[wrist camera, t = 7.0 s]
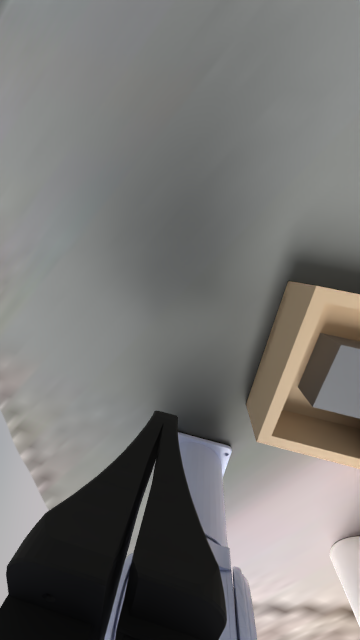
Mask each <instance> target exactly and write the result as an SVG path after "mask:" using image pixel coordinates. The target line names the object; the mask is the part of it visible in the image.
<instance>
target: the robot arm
mask: <svg viewBox="0 0 360 640" xmlns="http://www.w3.org/2000/svg"><path fill="white" fill-rule="evenodd" d="M177 422H178V417H177V416H176V415H172V414H168V413H164V412H160V411H155V412H154V414H153V416H152V417H151V419H150V420H149V422H148V423H147V425H146V426H145V427H144V429H143V430H142V431H141V432H140V434H139V435H138V436H137V437H136V438H135V440H134V441H133V442H132V443H131V444H130V445H129V446H128V447H127V448H126V450H125V451H124V452H123V453H122V454H121V455H120V456H119V457H118V458H117V459H116V460H115V461H114V462H112V463H111V464H110V465H109V466H108V467H107V468H106V469H105V470H104V471H102V472H101V473H100V474H99V475H98V476H97V477H95V478H94V479H93V480H92V481H90V482H89V483H88V484H86V485H85V486H84V487H82V488H81V489H80V490H78V491H77V492H76V493H75V494H73V495H72V496H70V497H69V498H67V499H66V500H64V501H63V502H61V503H60V504H58V505H57V506H55V507H54V508H52V509H51V510H49V511H48V512H47V513H45V515H44V516H43V517H42V518H41V519H40V520H39V522H38V523H37V524H36V525H35V527H34V528H33V529H32V530H31V531H30V533H29V534H28V535H27V537H26V538H25V539H24V541H23V542H22V544H21V546H20V547H19V549H18V550H17V552H16V553H15V555H14V556H13V558H12V560H11V561H10V562H9V564H8V566H7V572H6V577H7V584H8V592H9V595H8V596H7V598H6V599H5V601H4V603H3V604H2V606H1V608H0V640H257V634H256V627H255V619H254V612H253V605H252V599H251V593H250V588H249V583H248V581H247V579H246V578H245V576H244V575H243V574H242V572H241V569H240V568H239V567H233V584H232V574H231V561H230V549H229V548H228V544H227V531H226V517H225V503H224V489H223V475H224V473H225V470H226V467H227V464H228V461H229V458H230V455H231V452H232V450H231V447H230V446H228V445H224V444H220V443H217V442H213V441H209V440H205V439H202V438H198V437H194V436H191V435H187V434H183V433H179V432H178V428H177ZM155 461H156V463H155ZM154 463H155V469H154V475H153V481H152V485H151V489H150V493H149V497H148V501H147V505H146V508H145V512H144V516H143V520H142V523H141V527H140V531H139V535H138V538H137V542H136V546H135V550H134V553H132V554H130V555H129V556H128V557H127V558H126V555H127V551H128V548H129V544H130V540H131V536H132V533H133V529H134V525H135V522H136V518H137V514H138V511H139V507H140V504H141V501H142V498H143V495H144V492H145V490H146V487H147V484H148V481H149V478H150V475H151V472H152V469H153V466H154ZM125 559H126V560H125ZM233 586H234V587H233ZM233 594H234V595H233Z"/></svg>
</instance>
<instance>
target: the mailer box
mask: <svg viewBox="0 0 360 640" xmlns="http://www.w3.org/2000/svg"><path fill="white" fill-rule="evenodd" d="M246 406H247V410H248V413H249V417H250V420H251V424H252V427H253V431H254V435H255V438H256V442H259V443H263V444H267V445H271V446H275V447H278V448H282V449H286V450H290V451H294V452H297V453H301V454H305V455H309V456H312V457H316V458H320V459H324V460H328V461H331V462H335V463H339V464H343V465H347V466H350V467H354V468H358V469H360V294H355V293H350V292H345V291H340V290H335V289H330V288H325V287H320V286H315V285H309V284H303V283H297V282H291V281H288V283H287V286H286V289H285V292H284V295H283V298H282V301H281V303H280V306H279V309H278V312H277V315H276V318H275V321H274V324H273V327H272V330H271V333H270V336H269V339H268V341H267V344H266V347H265V350H264V353H263V356H262V359H261V362H260V365H259V368H258V371H257V374H256V377H255V379H254V382H253V385H252V388H251V391H250V394H249V397H248V400H247V403H246Z"/></svg>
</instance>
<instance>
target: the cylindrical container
mask: <svg viewBox="0 0 360 640" xmlns="http://www.w3.org/2000/svg"><path fill="white" fill-rule="evenodd" d="M330 558H331V560H332V563H333V565H334V567H335V570H336V572H337V575H338V577H339V579H340V582H341V584H342V586H343V589H344V591H345V593H346V596H347V598H348V600H349V603H350V605H351V607H352V610H353V612H354V615H355V617H356V619H357V622H358V624H359V626H360V537H359V536H357V537H349V538H345V539H342V540H340V541H338V542H337V543H335V544H334V545H333V546H332V548H331V550H330Z"/></svg>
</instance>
